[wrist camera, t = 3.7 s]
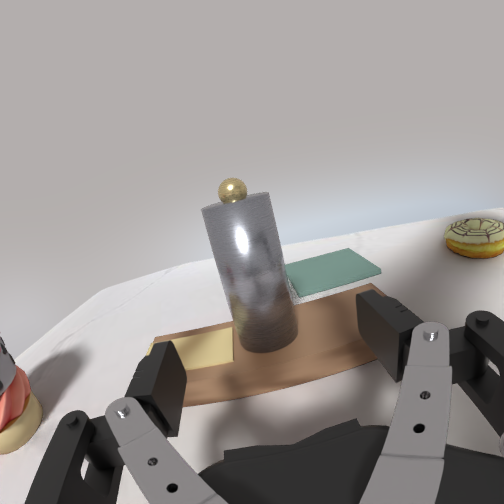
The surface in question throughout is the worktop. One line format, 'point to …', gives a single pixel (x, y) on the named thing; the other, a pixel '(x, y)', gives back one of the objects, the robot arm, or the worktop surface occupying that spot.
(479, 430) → the worktop surface
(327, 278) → the felt mat
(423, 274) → the worktop surface
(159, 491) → the robot arm
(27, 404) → the cake
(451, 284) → the worktop surface
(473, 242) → the decorated donut
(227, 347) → the plane body
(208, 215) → the cylinder with brass knob
